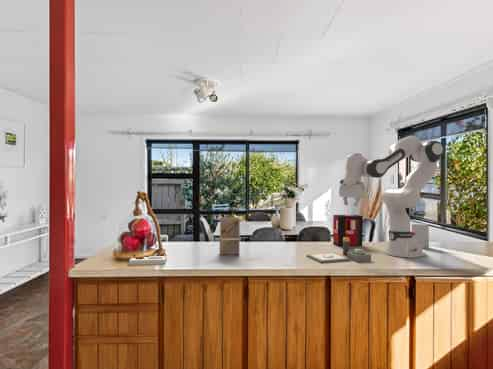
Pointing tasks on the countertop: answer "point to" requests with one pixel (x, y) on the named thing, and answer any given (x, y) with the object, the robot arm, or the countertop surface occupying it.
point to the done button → (358, 251)
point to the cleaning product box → (347, 229)
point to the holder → (148, 260)
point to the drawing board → (328, 257)
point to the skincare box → (421, 234)
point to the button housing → (359, 257)
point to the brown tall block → (230, 235)
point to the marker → (346, 245)
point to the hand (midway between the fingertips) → (350, 205)
